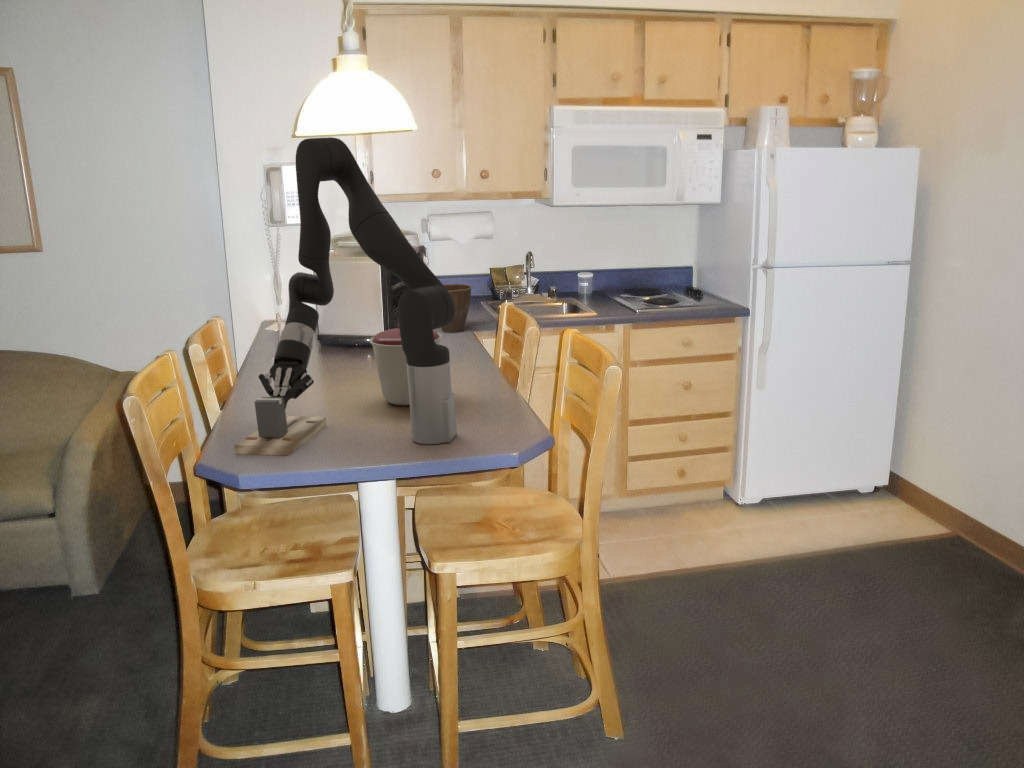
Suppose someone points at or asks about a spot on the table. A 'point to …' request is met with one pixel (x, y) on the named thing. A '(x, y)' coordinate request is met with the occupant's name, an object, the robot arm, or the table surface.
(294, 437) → the fader panel
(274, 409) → the fader knob
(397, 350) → the canister
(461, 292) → the plant pot
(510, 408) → the table surface
